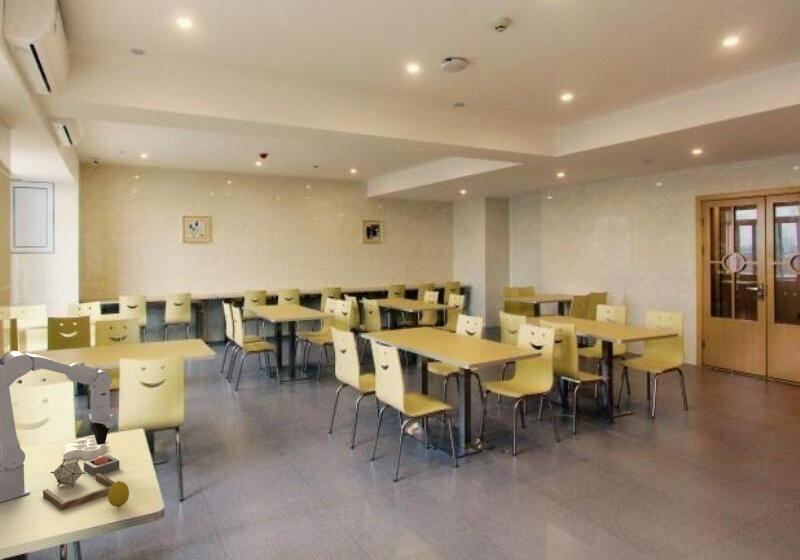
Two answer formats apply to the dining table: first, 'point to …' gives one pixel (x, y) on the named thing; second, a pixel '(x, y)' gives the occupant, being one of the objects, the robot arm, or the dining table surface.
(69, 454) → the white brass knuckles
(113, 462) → the dome housing
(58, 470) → the game die
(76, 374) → the robot arm
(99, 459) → the salmon ball
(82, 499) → the brown wooden u shape
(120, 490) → the lemon
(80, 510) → the dining table surface
